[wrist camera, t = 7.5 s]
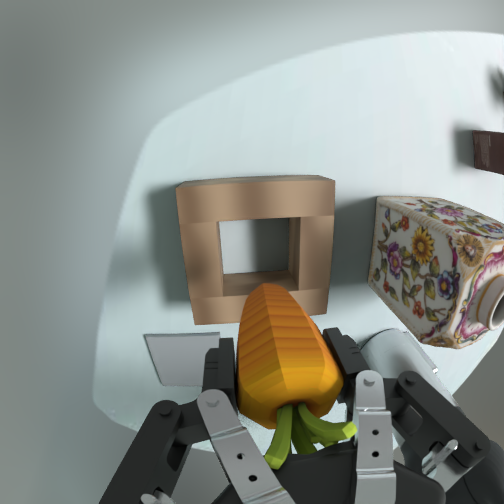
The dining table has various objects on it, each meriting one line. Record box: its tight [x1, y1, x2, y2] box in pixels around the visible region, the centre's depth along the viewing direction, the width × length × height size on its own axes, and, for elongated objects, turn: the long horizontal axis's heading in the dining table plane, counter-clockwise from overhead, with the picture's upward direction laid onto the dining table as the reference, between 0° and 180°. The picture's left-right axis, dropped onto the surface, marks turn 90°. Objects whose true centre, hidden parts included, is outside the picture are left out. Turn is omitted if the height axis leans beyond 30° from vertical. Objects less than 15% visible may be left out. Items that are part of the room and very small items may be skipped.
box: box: [473, 130, 504, 175], centre depth 24 cm, size 6×6×7 cm
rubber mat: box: [146, 332, 220, 386], centre depth 35 cm, size 10×10×1 cm
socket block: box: [175, 175, 335, 325], centre depth 27 cm, size 14×14×5 cm
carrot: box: [236, 283, 357, 470], centre depth 13 cm, size 5×5×15 cm
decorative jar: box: [368, 196, 504, 349], centre depth 23 cm, size 12×12×18 cm
